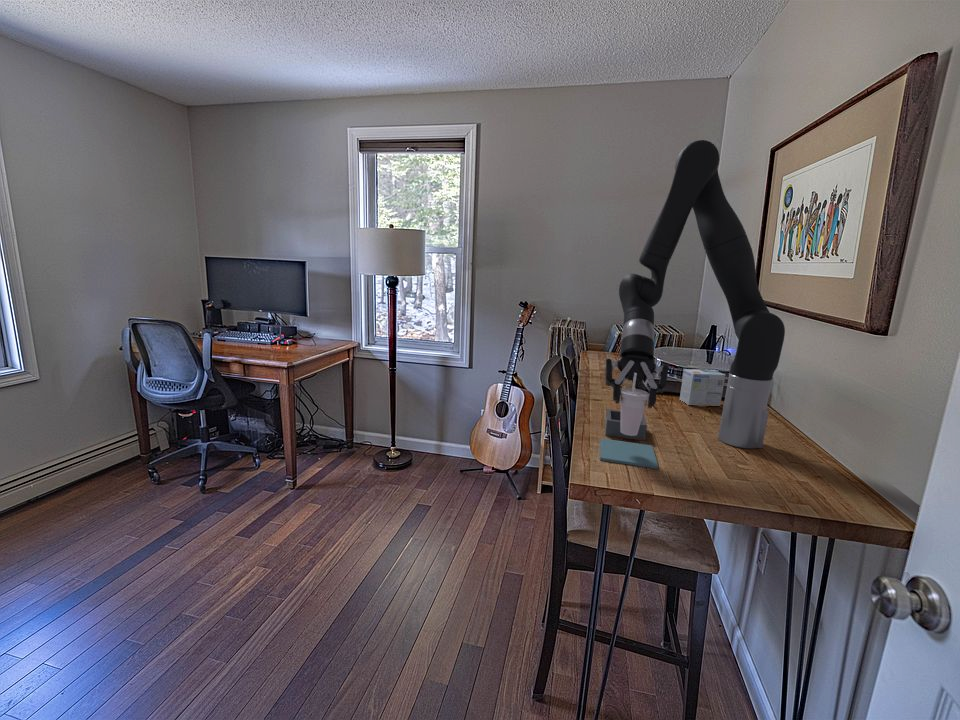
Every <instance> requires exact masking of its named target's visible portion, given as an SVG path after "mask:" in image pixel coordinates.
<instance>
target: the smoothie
mask: <svg viewBox="0 0 960 720" xmlns="http://www.w3.org/2000/svg"><path fill="white" fill-rule="evenodd" d="M636 376H637V373H634V379H633V380H632V386H631V387H623V388H621V390H620V411H621V420H620V432H621V433H622V434H625V435H629V436H636V435H637V434H638V430H639V427H640V423H641V420H642V417H643V414H645V410H646V406H647V404H648V399H649V395H650V394H649V391H646V390H644V389H640V388H636V382H637V381H636Z"/></svg>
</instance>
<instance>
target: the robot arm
mask: <svg viewBox="0 0 960 720" xmlns="http://www.w3.org/2000/svg"><path fill="white" fill-rule="evenodd" d="M719 164H720V152H719V150H718V148H717V146H716V145H715V144H714V143H712V142H711V141H709V140H706V139H699V140H695V141H692V142H689V144H687V145H686V146H685V147H683V148H682V149H681V151H680V152H679V154H678V155H677V157H676V161H675V166H674V173H673V178H672V182H671V185H670V188H669V191H668V193H667V197H666V199H665V201H664V204H663V206H662V208H661V210H660V212H659V214H658V216H657V219H656V221H655V223H654V225H653V226H652V229H651V231H650V233H649V234H648V235H649V236H648V238H647V240H646V242H645V244H644V245H643V246H644V247H643V249H642V252H641V253H640V256H639V260H638V262H639V263H640V264H641V265H642V266H644V267H645V268H647V269H648V270H650V272H651V273H650V274H651V277H650V278H649V277H645V276H643V275H640V274H637V273H629V274H627V275H625V276H623V278H622V279H621V281H620V283H619V288H618V296H619V300H620V304H621V308H622V312H623V326H622V332H621V338H620V349H619V350H620V351H619V359H618V360H612V359H611V358H606V360H605V365H604V369H605V371H604V372H605V385H606V386H607V387H611V388H612V389H613V390H612V391H613V392H612V400H613V401H615V404H619V403H620V402H621V395H620V390H621V389H622V388H621V387H622V385H623V384H624V383H625V382H626V381H627V380H628V381H633V379H634V373H637V376H636V382H639V383H640V382H642V383H643V384H644V386H645V387H646V388H647V390H648V393H649V394H650V395H649V399H648V400H647V408H648V409H652V408H653V407H654V406H655V405H656V402H657V393H660V394H662V393H664V391H665V388H666V386H667V381H668V375H669V374H668V372H669V366H668V365H666V364H665V365H662V366H660V365H656V363H655V360H654V359H655V334H656V333H655V326H654V325H655V311H654V309H653V307H655V306H656V305H658V304H659V302H660V301H661V299H662V297H663V294H664V293H663V292H664V286H665V278H666V275H667V269H668V267H669V264H670V261H671V259H672V256H673V255H674V252H675V251H676V247H677V246H678V243H679V240H680V238H681V237H682V233H683V232H684V231H683V230H684V228H685V226H686V224H687V221H688V218H689V216H690V214H691V211H692V210H693V212H694V215H695V220H696V225H697V230H698V233H699V237H700V239H701V242H702V246H703V248H704V252H705V254H706V257H707V259H708V262H709V264H710V267H711V269H712V271H713V274H714V276H715V278H716V281H717V283H718V284H719V286H720V289H721V291H722V292H723V295H724V297H725V299H726V302H727V304H728V309H729V313H730V317H731V321H732V323H733V325H732V326H733V330H734V333H735V337H736V338H737V339H738V342H737V347H736V352H735V356H734V359H733V361H732V362H731V363H730V367H729V374H728V379H727V385H726V390H725V396H724V401H723V406H722V414H721V418H720V423H719V429H718V435H717V438H718V441H721V442H723V443H725V444H727V445H730V446H734V447H737V448H743V449H762V448H763V445H764V444H763V443H764V439H765V434H766V430H767V424H768V419H769V415H770V411H769V410H768V409H767V407H768V402H769V397H770V393H771V386H772V383H773V376H774V374H775V372H776V370H777V368H778V366H779V363H780V358H781V354H782V350H783V345H784V341H785V336H786V327H785V323H784V322H783V320H782V319H781V318H780V317H779V316H778V315H776V314H775V313H772V312H770V310H769V308H768V307H767V305H766V303H765V300H764V299H763V297H762V294H761V292H760V289H759V286H758V279H757V272H756V271H757V270H756V261H755V256H754V252H753V249H752V248H753V247H752V246H751V243H750V241H749V237H748V235H747V232H746V230H745V228H744V225H743V223H742V222H741V220H740V219H739V217H738V215H737V213H736V211H735V210H734V209H733V208H732V205H731V203H730V202H729V201H728V199H727V197H726V195H725V193H724V190H723V185H722V183H721V179H720V175H719V171H718V168H719ZM615 368H617V369H618V370H619V372H620V373H619V374H618V376H617V378H616V379H614V378H613V371H614V370H615ZM654 372H655V373H656V375H657V376H658V377H659V381H658V384H657V383H656V382H655V379H654V376H653V373H654Z"/></svg>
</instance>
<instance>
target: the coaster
mask: <svg viewBox="0 0 960 720" xmlns="http://www.w3.org/2000/svg"><path fill="white" fill-rule="evenodd" d="M599 445H600V446H599V460H600V461H604V462H610V463H617V464H623V465H629V466H636V467H642V468H650V469H657V470H659V464H658V461H657V457H656V454H655V450H654V447H653V444H652V445H651V444H644V443H637V442H630V441H624V440H623V441H622V440H615V439H609V438H602V437H600V439H599Z"/></svg>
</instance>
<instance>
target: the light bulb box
mask: <svg viewBox="0 0 960 720" xmlns="http://www.w3.org/2000/svg"><path fill="white" fill-rule="evenodd" d="M682 374H683V375H682V380H681V388H680V395H679V401H680V400H681V401H680V402H682V401H683V402H685V403H686V404H687V405H686V404H685V403H684V404H685V405H686V406H688V405H715V406H720V407H721V403H722V397H723V391H724V384H725V380H726V374H725V373H722V372H721V371H717V370H715V369H694V368H693V369H692V368H691V369H689V368H688V369H687V368H683V373H682ZM683 402H682V403H683Z"/></svg>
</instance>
